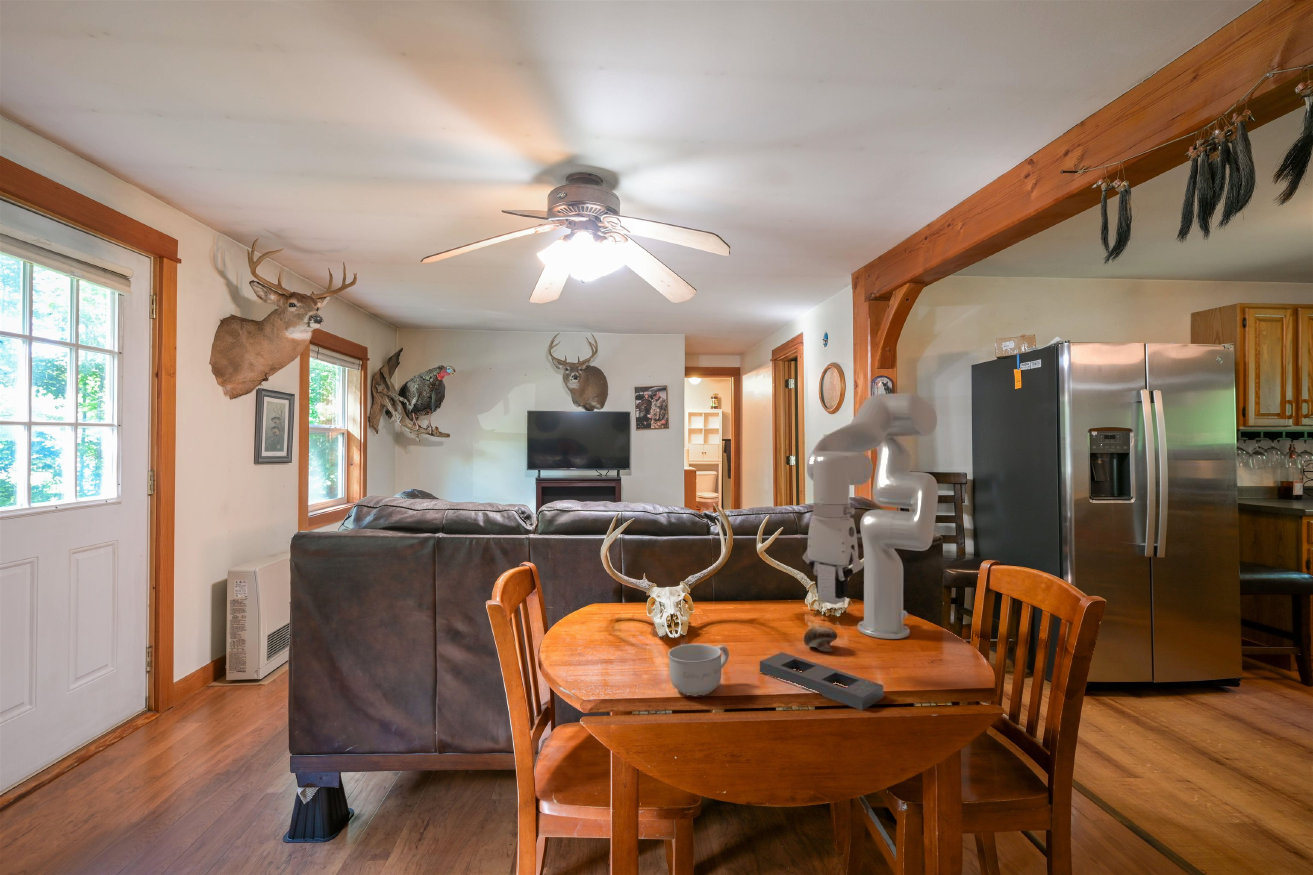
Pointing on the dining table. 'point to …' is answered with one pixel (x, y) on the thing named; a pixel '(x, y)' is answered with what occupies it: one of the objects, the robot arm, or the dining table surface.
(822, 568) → the grey rectangular block
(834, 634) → the mushroom
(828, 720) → the dining table surface
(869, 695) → the rail
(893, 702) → the dining table surface
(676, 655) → the teacup
